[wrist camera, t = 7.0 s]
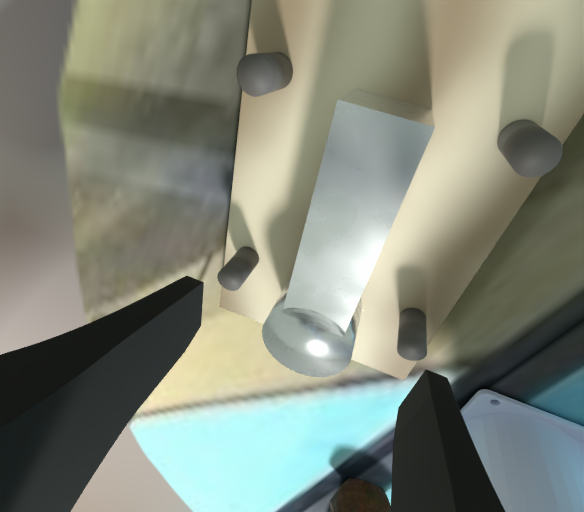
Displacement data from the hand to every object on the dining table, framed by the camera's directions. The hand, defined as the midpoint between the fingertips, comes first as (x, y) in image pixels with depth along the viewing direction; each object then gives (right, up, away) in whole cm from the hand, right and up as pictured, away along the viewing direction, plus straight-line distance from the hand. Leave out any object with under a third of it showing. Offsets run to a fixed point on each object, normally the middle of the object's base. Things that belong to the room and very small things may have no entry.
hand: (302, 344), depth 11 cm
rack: (+3, +6, +7) cm, 9 cm away
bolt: (+7, -24, +25) cm, 35 cm away
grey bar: (+2, +4, +7) cm, 8 cm away
